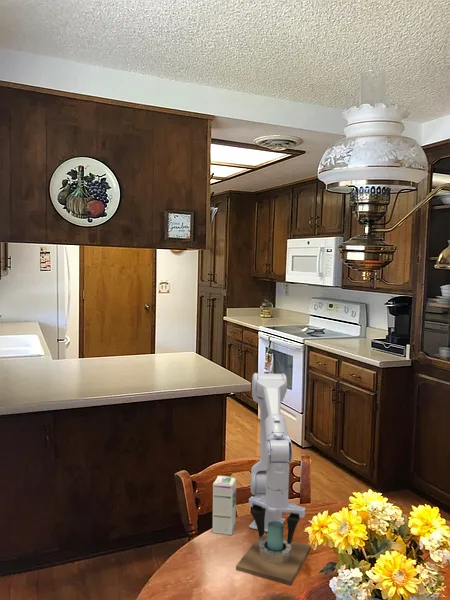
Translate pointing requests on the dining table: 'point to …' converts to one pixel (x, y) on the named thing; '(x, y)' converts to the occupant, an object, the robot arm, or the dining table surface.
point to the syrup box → (224, 505)
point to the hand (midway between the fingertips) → (275, 538)
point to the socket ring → (275, 553)
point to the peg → (275, 536)
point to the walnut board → (274, 571)
